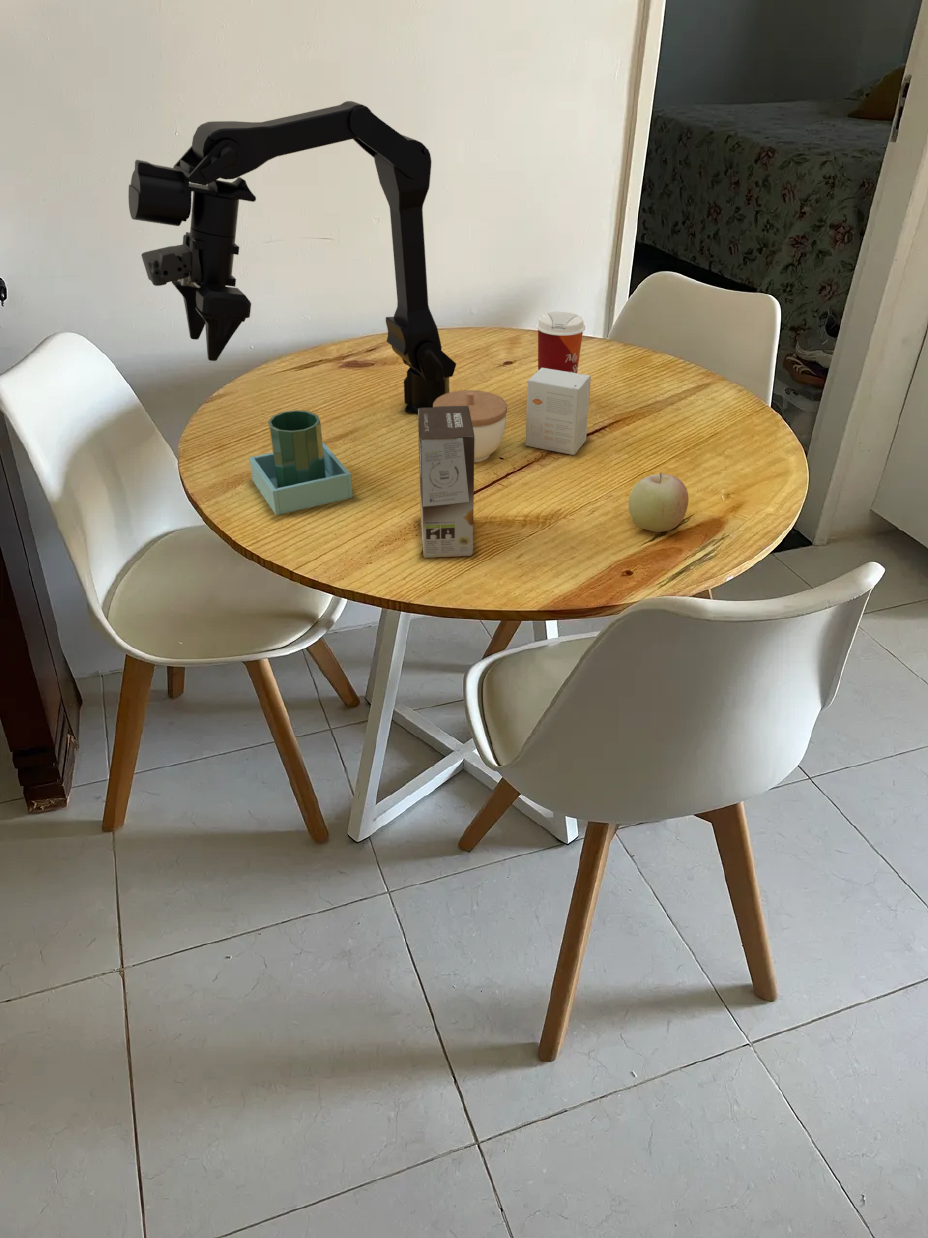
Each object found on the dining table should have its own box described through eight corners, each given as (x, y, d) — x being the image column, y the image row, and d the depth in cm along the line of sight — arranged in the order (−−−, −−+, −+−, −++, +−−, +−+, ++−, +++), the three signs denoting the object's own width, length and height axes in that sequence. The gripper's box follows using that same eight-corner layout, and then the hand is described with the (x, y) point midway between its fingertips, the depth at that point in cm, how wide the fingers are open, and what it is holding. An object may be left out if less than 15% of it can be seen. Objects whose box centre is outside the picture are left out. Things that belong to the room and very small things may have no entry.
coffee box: (474, 556, 114) (476, 437, 104) (423, 558, 113) (419, 439, 104) (468, 519, 121) (469, 404, 111) (419, 520, 121) (416, 405, 111)
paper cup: (576, 414, 147) (583, 328, 139) (528, 410, 149) (533, 324, 140) (581, 395, 154) (588, 311, 145) (535, 391, 155) (540, 308, 146)
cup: (332, 479, 129) (326, 412, 123) (316, 502, 123) (309, 433, 117) (287, 474, 130) (279, 408, 124) (270, 497, 124) (260, 428, 118)
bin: (325, 467, 133) (323, 441, 130) (353, 500, 125) (351, 473, 123) (252, 483, 129) (249, 457, 126) (276, 518, 121) (272, 491, 119)
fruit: (665, 547, 116) (674, 491, 111) (616, 527, 120) (622, 472, 115) (695, 523, 120) (705, 469, 116) (647, 505, 124) (654, 451, 119)
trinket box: (418, 455, 136) (417, 395, 130) (465, 431, 142) (465, 373, 137) (474, 477, 130) (475, 415, 125) (520, 451, 137) (523, 391, 131)
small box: (586, 441, 140) (592, 374, 133) (574, 456, 136) (580, 388, 129) (537, 431, 142) (541, 365, 136) (523, 446, 138) (527, 379, 132)
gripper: (133, 206, 122) (128, 323, 130) (167, 239, 109) (159, 367, 117) (216, 218, 128) (206, 330, 136) (258, 252, 115) (244, 373, 122)
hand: (203, 349), depth 127 cm, fingers open, 9 cm apart
